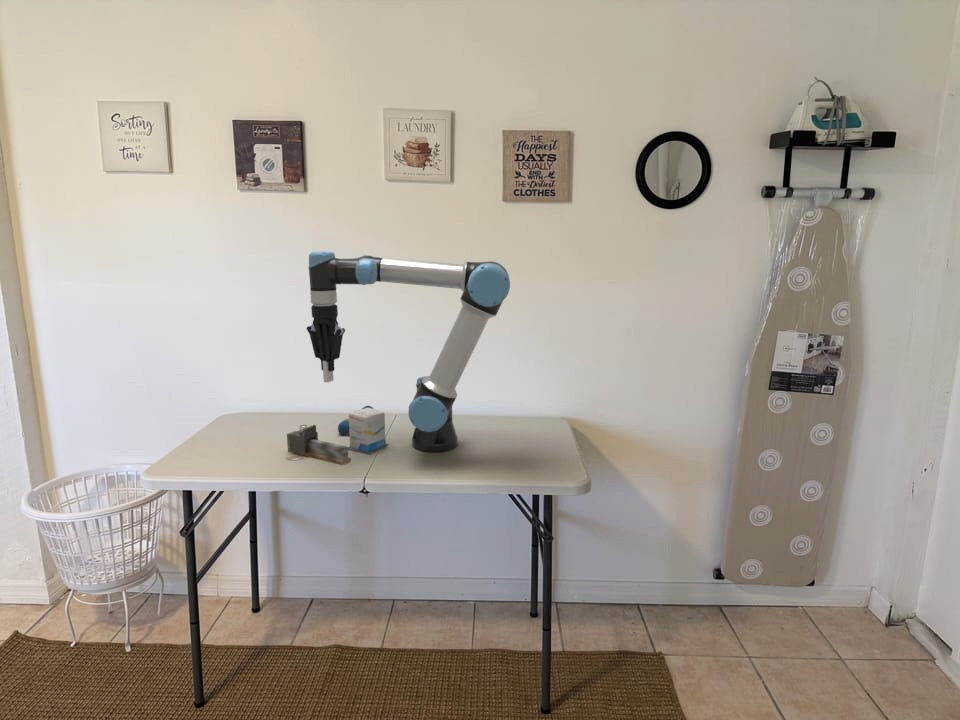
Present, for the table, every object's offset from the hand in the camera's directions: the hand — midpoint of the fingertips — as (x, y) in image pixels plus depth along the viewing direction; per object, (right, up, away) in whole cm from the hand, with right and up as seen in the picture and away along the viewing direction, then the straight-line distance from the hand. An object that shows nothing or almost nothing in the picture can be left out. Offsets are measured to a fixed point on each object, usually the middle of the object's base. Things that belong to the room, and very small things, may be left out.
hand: (328, 381), depth 187 cm
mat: (+9, -22, +14) cm, 28 cm away
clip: (-10, -22, +8) cm, 25 cm away
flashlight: (+1, -18, +34) cm, 39 cm away
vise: (-6, -24, +4) cm, 25 cm away
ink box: (+9, -22, +14) cm, 28 cm away
